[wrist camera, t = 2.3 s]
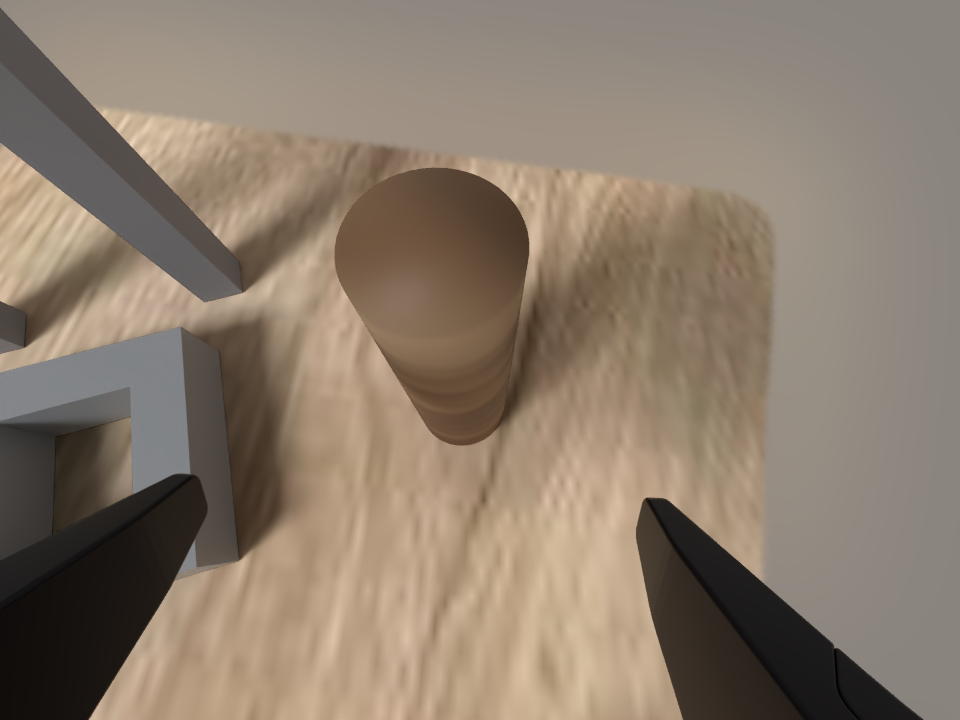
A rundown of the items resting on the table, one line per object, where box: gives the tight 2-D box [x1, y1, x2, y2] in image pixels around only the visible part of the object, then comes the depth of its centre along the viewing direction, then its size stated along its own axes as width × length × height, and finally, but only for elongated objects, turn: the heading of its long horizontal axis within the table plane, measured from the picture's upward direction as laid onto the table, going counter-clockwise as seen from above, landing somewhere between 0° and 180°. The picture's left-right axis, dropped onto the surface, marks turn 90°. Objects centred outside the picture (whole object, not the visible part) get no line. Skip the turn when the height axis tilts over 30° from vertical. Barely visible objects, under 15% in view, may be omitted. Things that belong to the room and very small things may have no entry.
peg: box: [335, 168, 529, 445], centre depth 15 cm, size 4×4×13 cm
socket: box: [0, 327, 239, 580], centre depth 19 cm, size 10×10×3 cm
